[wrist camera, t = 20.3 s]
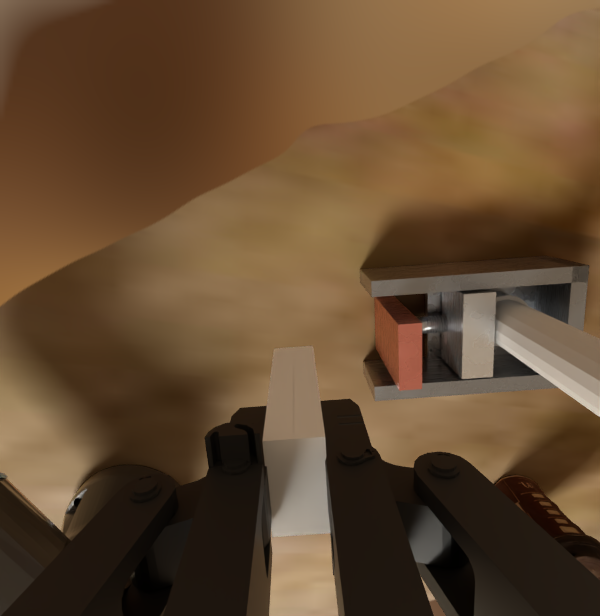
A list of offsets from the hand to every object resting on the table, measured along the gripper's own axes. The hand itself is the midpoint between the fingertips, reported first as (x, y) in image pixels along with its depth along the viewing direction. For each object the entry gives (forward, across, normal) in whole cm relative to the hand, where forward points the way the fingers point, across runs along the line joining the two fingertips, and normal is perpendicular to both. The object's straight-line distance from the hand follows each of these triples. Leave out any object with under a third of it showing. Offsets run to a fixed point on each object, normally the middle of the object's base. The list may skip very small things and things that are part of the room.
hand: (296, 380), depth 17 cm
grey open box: (+30, +17, -7) cm, 36 cm away
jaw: (+30, +13, -7) cm, 34 cm away
